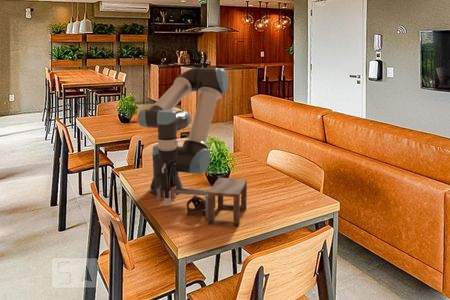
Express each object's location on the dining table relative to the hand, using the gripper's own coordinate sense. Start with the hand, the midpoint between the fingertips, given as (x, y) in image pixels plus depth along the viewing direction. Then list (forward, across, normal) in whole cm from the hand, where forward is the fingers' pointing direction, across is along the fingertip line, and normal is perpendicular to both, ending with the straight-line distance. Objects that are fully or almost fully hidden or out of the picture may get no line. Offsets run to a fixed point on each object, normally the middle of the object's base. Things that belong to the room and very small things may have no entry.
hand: (169, 203), depth 175 cm
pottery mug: (+4, +1, -12) cm, 13 cm away
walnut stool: (+4, 0, -25) cm, 25 cm away
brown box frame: (+3, 0, -7) cm, 8 cm away
